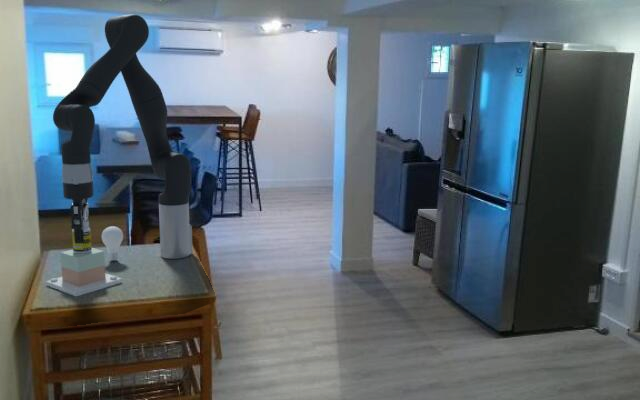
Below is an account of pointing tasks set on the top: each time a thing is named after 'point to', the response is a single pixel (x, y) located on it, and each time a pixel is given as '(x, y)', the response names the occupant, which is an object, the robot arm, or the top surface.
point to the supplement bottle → (86, 245)
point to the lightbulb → (112, 241)
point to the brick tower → (83, 273)
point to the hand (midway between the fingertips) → (81, 239)
